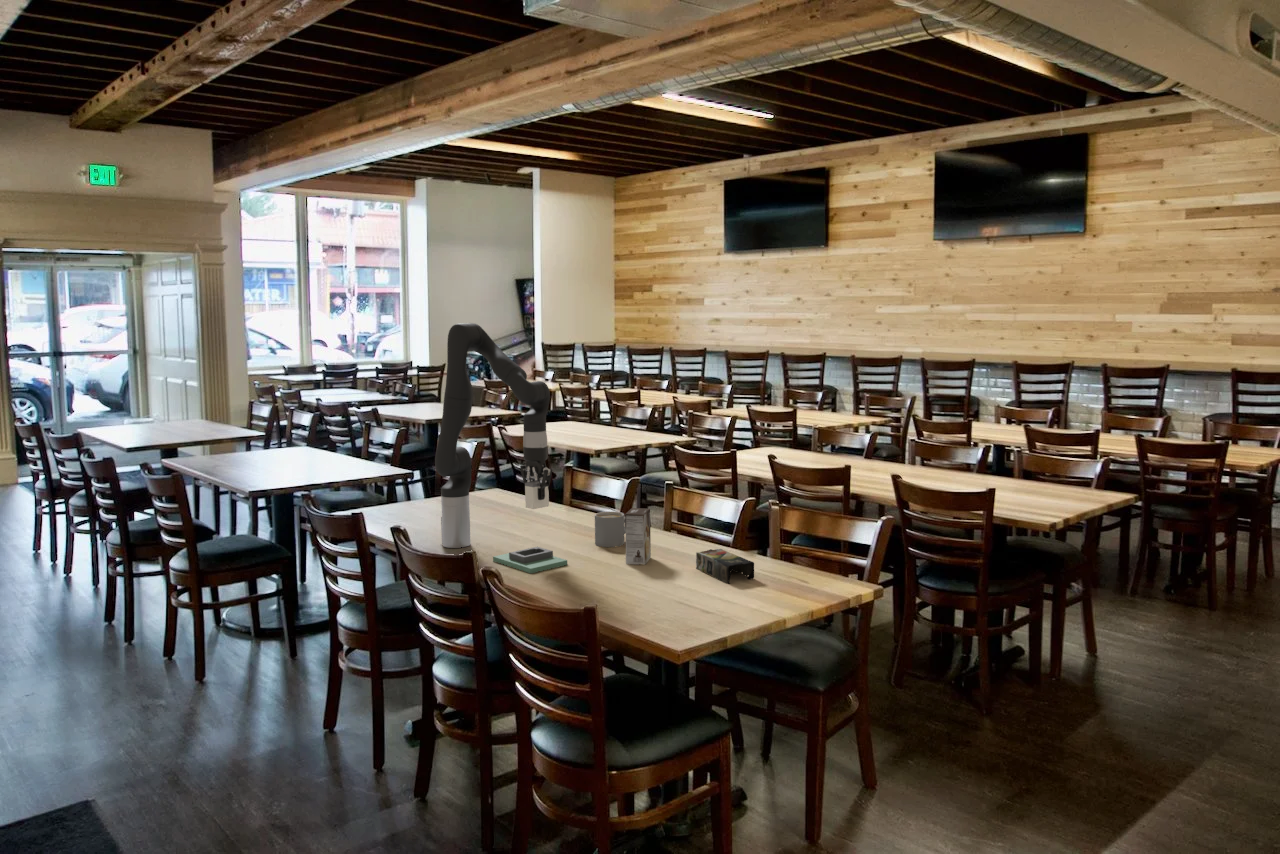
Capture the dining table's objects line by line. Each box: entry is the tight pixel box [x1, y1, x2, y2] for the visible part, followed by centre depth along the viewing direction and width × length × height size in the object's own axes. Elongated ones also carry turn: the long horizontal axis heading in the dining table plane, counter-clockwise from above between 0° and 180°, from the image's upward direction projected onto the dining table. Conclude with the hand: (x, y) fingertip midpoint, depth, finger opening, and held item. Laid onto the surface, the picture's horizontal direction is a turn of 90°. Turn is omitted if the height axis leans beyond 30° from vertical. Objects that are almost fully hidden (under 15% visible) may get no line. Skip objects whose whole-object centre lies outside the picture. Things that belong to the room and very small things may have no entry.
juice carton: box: [695, 548, 755, 585], centre depth 291 cm, size 20×10×6 cm, turn 26°
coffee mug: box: [594, 511, 626, 548], centre depth 330 cm, size 13×10×10 cm
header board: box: [492, 546, 568, 574], centre depth 305 cm, size 20×14×4 cm
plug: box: [524, 481, 550, 510], centre depth 309 cm, size 4×7×8 cm, turn 134°
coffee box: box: [624, 507, 652, 566], centre depth 306 cm, size 9×6×16 cm
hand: (536, 498), depth 309 cm, fingers closed on plug, 4 cm apart
